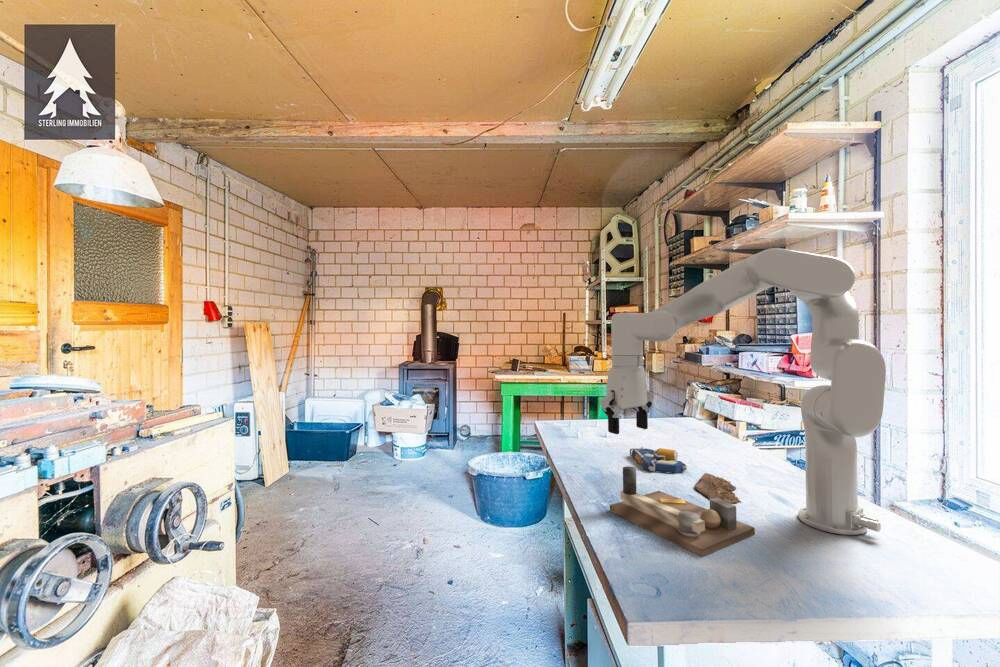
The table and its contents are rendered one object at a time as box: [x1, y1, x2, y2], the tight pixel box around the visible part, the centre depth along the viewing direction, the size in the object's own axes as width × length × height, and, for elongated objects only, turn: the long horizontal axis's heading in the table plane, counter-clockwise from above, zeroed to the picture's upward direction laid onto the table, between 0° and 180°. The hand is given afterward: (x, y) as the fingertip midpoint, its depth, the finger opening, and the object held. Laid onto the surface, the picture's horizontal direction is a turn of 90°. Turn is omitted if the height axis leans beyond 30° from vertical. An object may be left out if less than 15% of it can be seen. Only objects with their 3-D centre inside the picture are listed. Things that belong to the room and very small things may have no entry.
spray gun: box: [629, 446, 688, 474], centre depth 147 cm, size 21×4×15 cm
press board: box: [609, 490, 756, 558], centre depth 103 cm, size 26×18×6 cm
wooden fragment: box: [693, 472, 742, 505], centre depth 124 cm, size 26×11×1 cm, turn 159°
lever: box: [619, 465, 705, 533], centre depth 101 cm, size 22×4×8 cm, turn 29°
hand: (628, 430), depth 109 cm, fingers open, 9 cm apart
